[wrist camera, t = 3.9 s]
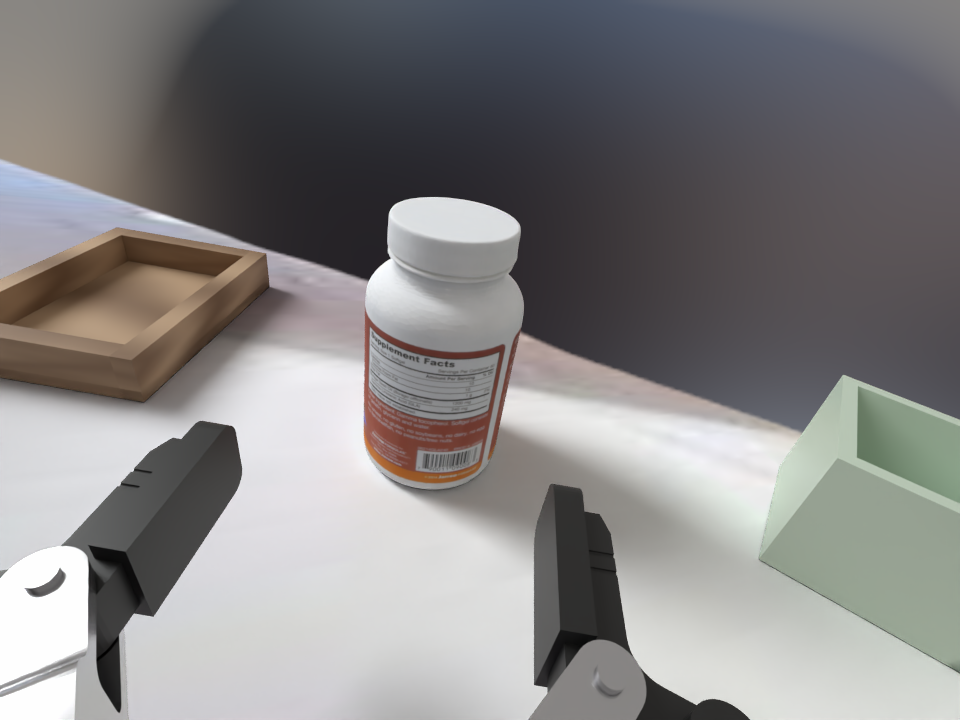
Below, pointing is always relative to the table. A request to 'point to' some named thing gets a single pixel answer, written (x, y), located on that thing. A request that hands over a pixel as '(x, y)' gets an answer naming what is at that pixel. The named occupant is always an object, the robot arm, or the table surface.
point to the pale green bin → (875, 515)
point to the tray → (122, 311)
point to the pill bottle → (440, 341)
